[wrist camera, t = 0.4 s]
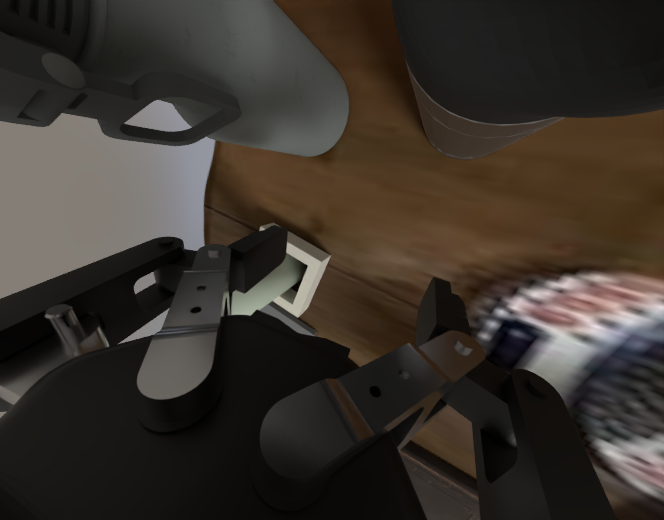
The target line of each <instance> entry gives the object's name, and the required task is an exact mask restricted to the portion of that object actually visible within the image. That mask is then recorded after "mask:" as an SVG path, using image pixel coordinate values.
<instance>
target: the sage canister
mask: <svg viewBox="0 0 664 520" xmlns="http://www.w3.org/2000/svg"><path fill="white" fill-rule="evenodd" d="M305 272H306V267H305V264H304V263H303V262H301V261H299V260H298V259H296V258H294V257H293V256H291V255H289V254H288V253H286V257H285V259H284V261H283V263H282V264H281V265H279V266H278V267H277V268H276V269H275V270H273V271H272V272H271V273H270V274H268V275H267V276H266V277H265V278H264V279H262V280H261V281H260V282H259V283H258V284H256V285H255V286H254V287H253V288H251V289H250V290H249V291H248V292H247V293H245V294H244V293H241V292H239V291H236V290H235V291H234V292H233V305H232V315H250V316H251V315H252V314H253V313H254V312H255V311H256V310H260V309H262V308H263V307H265V306H266V305H267V304H269V303H270V302H271V301H273V300H274V299H275V298H277V297H278V296H280V295H281V294H282V293H284V292H285V291H286V290H288V289H289V288H291V287H292V286H293V285H295V284H296V283H297V282H299V281H300V280H301V279H302V278H303V277H304V275H305Z"/></svg>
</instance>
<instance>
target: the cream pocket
mask: <svg viewBox="0 0 664 520" xmlns="http://www.w3.org/2000/svg"><path fill="white" fill-rule="evenodd" d="M272 225H276V226H279V225H277V224H275V223H270V224H267V225H263V226H260V230H259V231H262V230H265V229H267V228H269V227H271V226H272ZM279 227H280V226H279ZM286 253H288V254H289V255H291V256H293V257H294V258H296V259H298V260H299V261H301V262H303V263H304V264H306V265H308V267H307V270H306V272H305V275H304V277H303V280H302V282H301V285H300V287H299V290H298V293H297V292H296V291H294V290H293V289H291V288H289V289H288V290H286V291H285V292H284V293H282V294H281V295H280V296H278V297H277V298H275V299H274V300H273V302H275V303H276V304H278V305H279V306H281V307H282V308H284V309H285V310H287V311H288V312H290V313H291V314H293V315H294V316H296V317H297V318H298V317H299V316H300V315H301V314H302V313H303V312H304V311H305V310H306V309H307V308H308V306H309V304H310V302H311V299H312V297H313V295H314V293H315V290H316V288H317V286H318V284H319V281H320V279H321V277H322V274H323V272H324V270H325V268H326V265H327V263H328V261H329V259H330V256H331V255H329V254H327V253H325V252H324V251H322V250H320V249H319V248H317V247H315V246H313V245H312V244H310V243H308V242H306V241H305V240H303V239H301V238H299V237H298V236H296V235H294V234H293V233H291V232H289V231H288V238H287V250H286Z"/></svg>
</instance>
